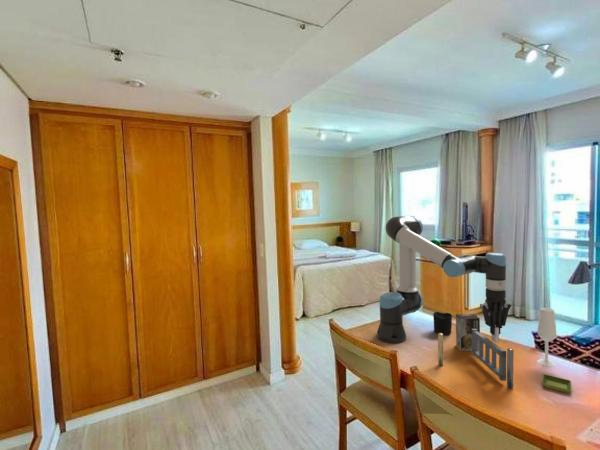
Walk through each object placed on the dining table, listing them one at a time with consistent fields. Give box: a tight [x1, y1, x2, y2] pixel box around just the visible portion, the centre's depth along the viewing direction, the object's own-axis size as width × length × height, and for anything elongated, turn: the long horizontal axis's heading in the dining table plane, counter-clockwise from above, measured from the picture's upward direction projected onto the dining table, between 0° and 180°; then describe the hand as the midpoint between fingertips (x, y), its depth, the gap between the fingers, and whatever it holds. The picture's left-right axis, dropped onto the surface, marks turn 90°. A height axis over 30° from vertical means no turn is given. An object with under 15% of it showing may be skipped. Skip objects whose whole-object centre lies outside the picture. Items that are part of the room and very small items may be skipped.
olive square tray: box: [541, 373, 572, 394], centre depth 125 cm, size 9×9×2 cm
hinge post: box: [506, 348, 514, 390], centre depth 124 cm, size 2×2×15 cm
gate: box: [471, 329, 507, 382], centre depth 138 cm, size 23×2×12 cm, turn 179°
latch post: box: [437, 333, 444, 367], centre depth 143 cm, size 2×2×14 cm
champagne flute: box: [536, 307, 557, 368], centre depth 141 cm, size 7×7×24 cm
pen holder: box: [432, 311, 453, 336], centre depth 179 cm, size 9×9×10 cm
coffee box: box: [455, 313, 481, 352], centre depth 158 cm, size 9×6×16 cm
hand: (495, 341), depth 143 cm, fingers closed
